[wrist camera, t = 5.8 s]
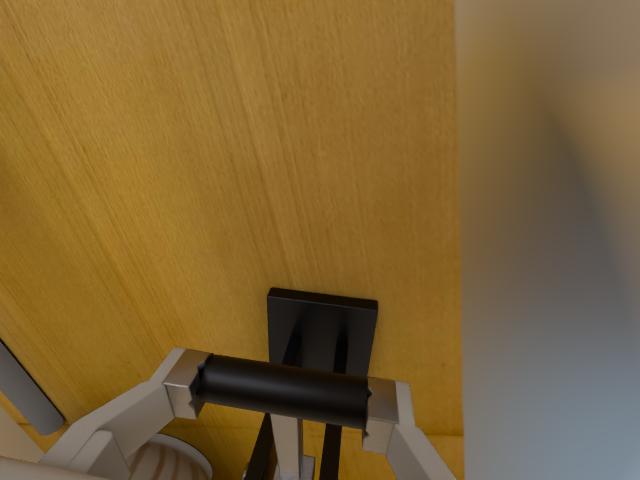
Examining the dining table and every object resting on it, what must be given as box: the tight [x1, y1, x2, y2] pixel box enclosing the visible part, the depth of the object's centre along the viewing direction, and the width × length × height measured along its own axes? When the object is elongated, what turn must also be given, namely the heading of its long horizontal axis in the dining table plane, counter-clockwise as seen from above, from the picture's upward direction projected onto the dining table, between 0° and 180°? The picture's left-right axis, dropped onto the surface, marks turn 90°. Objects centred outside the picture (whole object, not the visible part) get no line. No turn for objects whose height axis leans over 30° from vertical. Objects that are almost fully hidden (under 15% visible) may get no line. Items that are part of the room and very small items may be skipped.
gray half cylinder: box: [0, 342, 63, 435], centre depth 36 cm, size 4×20×2 cm, turn 11°
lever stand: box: [242, 288, 378, 480], centre depth 22 cm, size 12×9×13 cm
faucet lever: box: [199, 355, 368, 480], centre depth 15 cm, size 13×6×2 cm, turn 177°
